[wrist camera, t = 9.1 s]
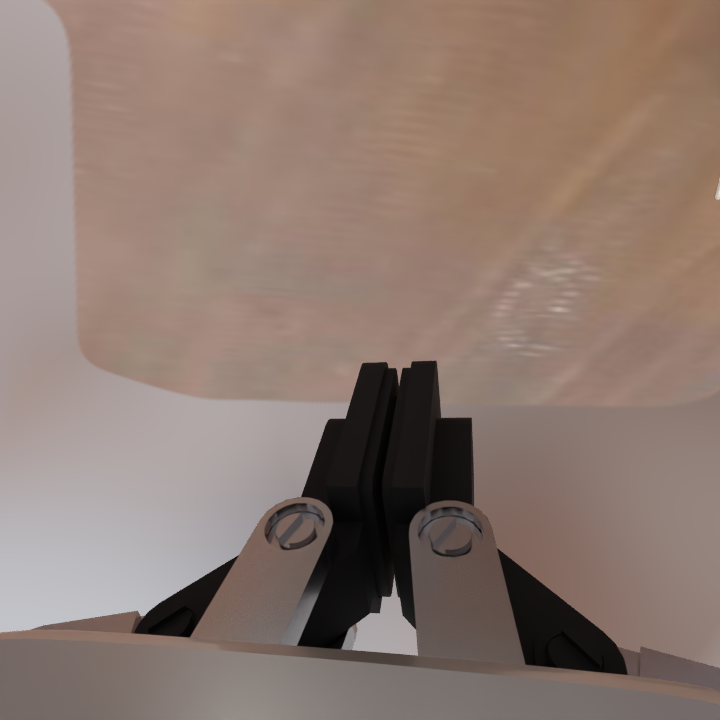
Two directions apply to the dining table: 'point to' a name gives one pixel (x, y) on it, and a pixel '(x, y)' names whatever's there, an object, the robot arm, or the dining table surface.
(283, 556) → the robot arm
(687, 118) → the dining table surface
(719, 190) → the mat
